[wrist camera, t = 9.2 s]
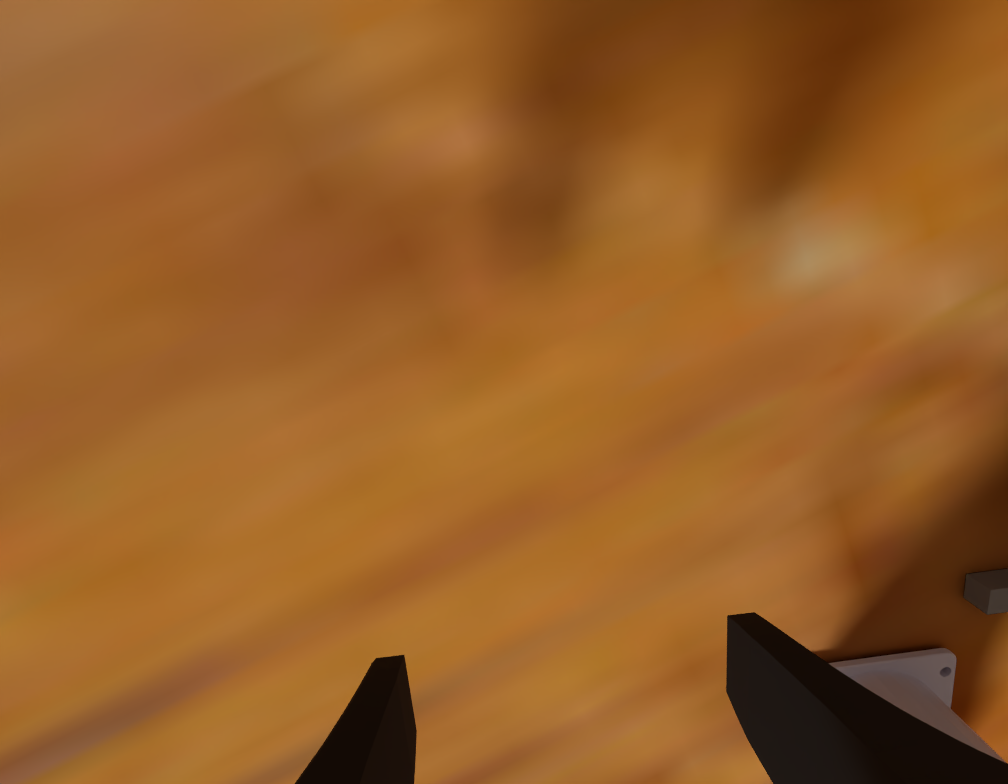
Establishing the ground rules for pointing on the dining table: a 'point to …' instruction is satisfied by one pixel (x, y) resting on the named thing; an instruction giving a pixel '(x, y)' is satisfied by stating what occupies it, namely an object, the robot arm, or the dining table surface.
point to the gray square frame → (988, 590)
